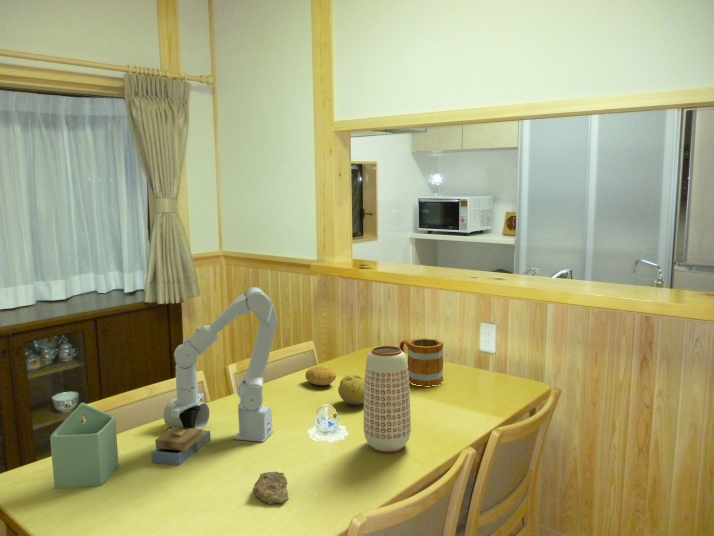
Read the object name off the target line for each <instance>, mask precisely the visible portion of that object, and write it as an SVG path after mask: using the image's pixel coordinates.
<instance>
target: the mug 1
mask: <svg viewBox="0 0 714 536" xmlns="http://www.w3.org/2000/svg"><path fill="white" fill-rule="evenodd" d="M176 399H177V397H175V398H171V399H170V400H168V402H167V403H166V404H165V408H164V410H163V422H164V423H165V424H166V425H167V426H168V427H183V424H182V422H181V420H180V418H179V417H171V410H172V409H173V408H174V406H175V404H174V401H175V400H176ZM197 405H198V406H200V410H199V412H198V415H197V418H196V422H195V427H194V428H195V429H202V430H204V429H205V427H206V426H207V425H208V422H209V420H210V414H211V411H210V407H209V405H208V404H207V403H206V402H202V401H199V403H198V404H197Z"/></svg>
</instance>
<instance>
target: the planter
mask: <svg viewBox="0 0 714 536" xmlns="http://www.w3.org/2000/svg"><path fill="white" fill-rule="evenodd" d="M83 419H85V421H84V422H83V423H82V420H83ZM117 437H118V435H117V424H116V416H115V415H113V414H110V413H108V412H105V411H103V410H101V409H98V408H96V407H93V406H91V405H89V404H88V403H87V404H86V403H85V402H80V403H79V404H78V405H77V407H76V408H75V409H73V411H72V412H71V413H70V414H69V416H67V417H66V419H64V420H63V422H61V424H59V426H58V427H57V428H56V429H55V430H54V431H53V432H52V433H51V435H50V437H49V439H50V452H51V454H50V455H51V463H52V465H51V466H52V474H53V486H54V487H53V489H58V490H59V489H75V488H77V489H78V488H90V487H91V488H92V487H101V486H103V485H104V484H105V483H106V482H107V481H108V480H109V478H110V476H111V475H113V474H114V472H115V470H116V469H117V468H118V467H119V466H120V464H119V452H118V450H119V449H118V438H117Z"/></svg>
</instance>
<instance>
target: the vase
mask: <svg viewBox="0 0 714 536" xmlns="http://www.w3.org/2000/svg"><path fill="white" fill-rule="evenodd" d="M365 361H366V362H365V369H364V370H365V372H364V378H365V385H364V402H363V435H364V437H365V440H366V442H367V443H368V444H369V446H370V447H371V448H372V449H373V450H374V451H376V452H379V453H386V454H391V453H396V452H399V451H401V450H402V449H403V447H405V445H406V444H407V443H408V441H409V439H410V436H411V433H412V431H411V430H412V425H411V424H412V419H411V418H412V417H411V393H410V383H409V375H408V363H407V362H408V358H407V356H406V354H405V351H404V352H403V351H401V349H400V347H398V346H394V345H380V346H379V345H378V346H374V347H372V349H371V351H370V352H368V354H367V357H366V360H365Z"/></svg>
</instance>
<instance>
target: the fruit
mask: <svg viewBox="0 0 714 536" xmlns="http://www.w3.org/2000/svg"><path fill="white" fill-rule="evenodd" d="M364 385H365V376H363V375H361V374H357V373H356V374H352V375H351V374H348V375H346V376H344V377H342V379H341V380H340V382H339V386H338V388H337V392H338V395H339V397H340V399H342V400H343V401H344V402H345V403H346V404H349V405H361V404H364Z"/></svg>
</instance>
